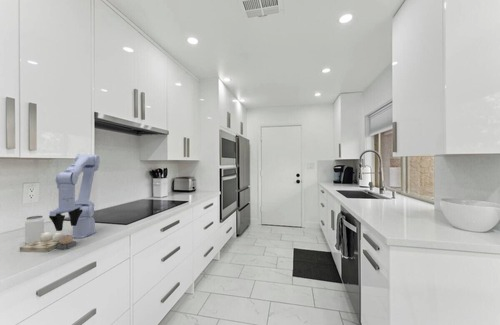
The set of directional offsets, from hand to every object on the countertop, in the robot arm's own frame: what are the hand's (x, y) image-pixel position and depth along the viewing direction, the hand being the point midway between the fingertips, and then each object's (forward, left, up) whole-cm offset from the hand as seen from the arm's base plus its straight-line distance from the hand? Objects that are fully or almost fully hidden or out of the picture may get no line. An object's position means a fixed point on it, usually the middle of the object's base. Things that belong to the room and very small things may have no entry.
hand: (66, 228), depth 99 cm
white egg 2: (-3, -7, -5) cm, 9 cm away
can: (-5, -21, -9) cm, 23 cm away
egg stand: (0, 0, -9) cm, 9 cm away
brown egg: (0, 0, -5) cm, 5 cm away
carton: (0, -10, -9) cm, 13 cm away
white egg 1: (-3, -12, -5) cm, 14 cm away
